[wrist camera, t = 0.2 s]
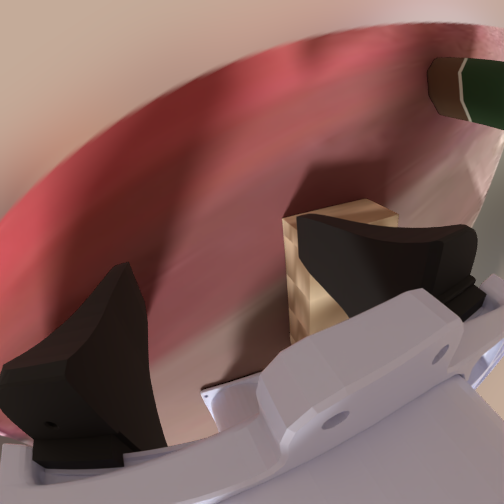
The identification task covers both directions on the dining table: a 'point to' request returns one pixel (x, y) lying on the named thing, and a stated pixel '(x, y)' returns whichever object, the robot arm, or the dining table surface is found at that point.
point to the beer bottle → (468, 89)
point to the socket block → (305, 286)
